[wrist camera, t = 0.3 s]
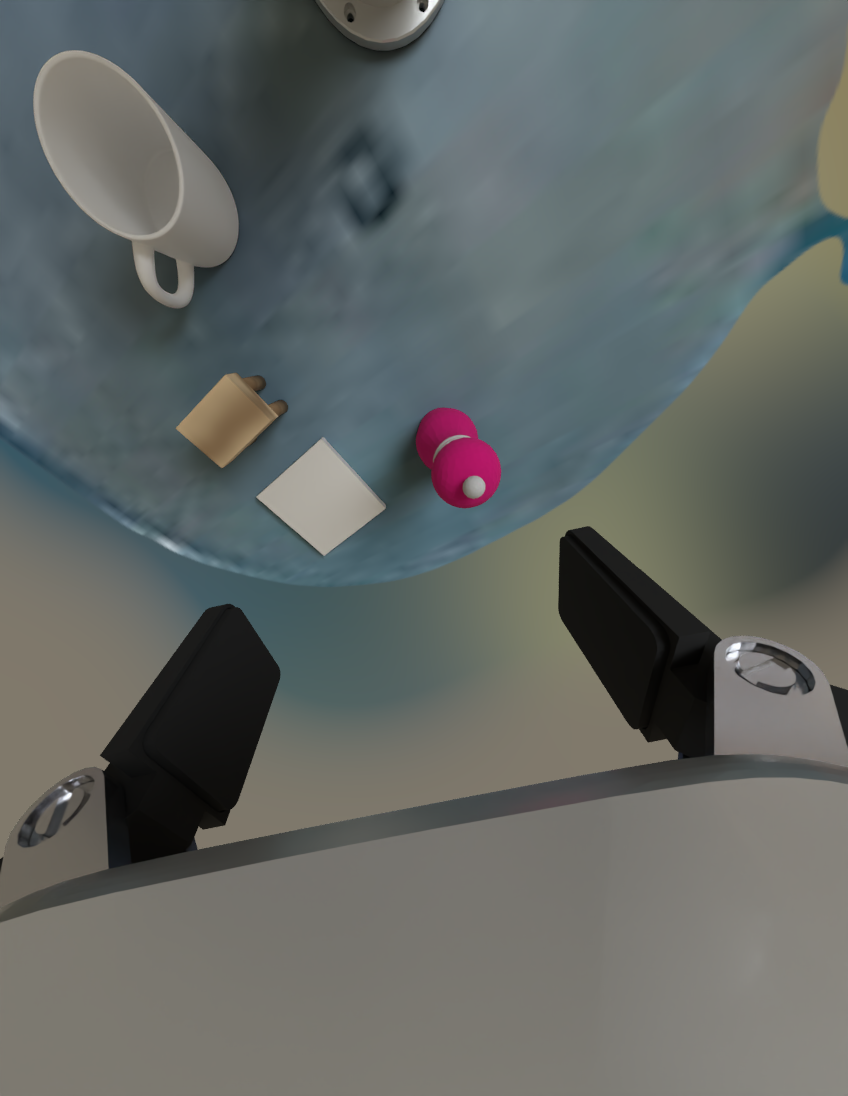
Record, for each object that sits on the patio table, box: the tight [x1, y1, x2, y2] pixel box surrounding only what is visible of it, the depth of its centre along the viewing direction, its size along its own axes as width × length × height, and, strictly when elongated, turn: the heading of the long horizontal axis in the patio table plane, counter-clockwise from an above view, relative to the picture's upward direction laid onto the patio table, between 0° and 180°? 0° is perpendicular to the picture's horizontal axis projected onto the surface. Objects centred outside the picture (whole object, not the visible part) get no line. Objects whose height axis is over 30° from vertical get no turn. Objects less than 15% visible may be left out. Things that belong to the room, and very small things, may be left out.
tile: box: [257, 437, 386, 555], centre depth 45 cm, size 12×12×1 cm
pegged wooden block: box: [176, 373, 288, 468], centre depth 35 cm, size 5×8×8 cm, turn 127°
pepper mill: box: [416, 408, 501, 508], centre depth 33 cm, size 7×7×20 cm
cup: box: [33, 50, 239, 308], centre depth 26 cm, size 8×12×10 cm
